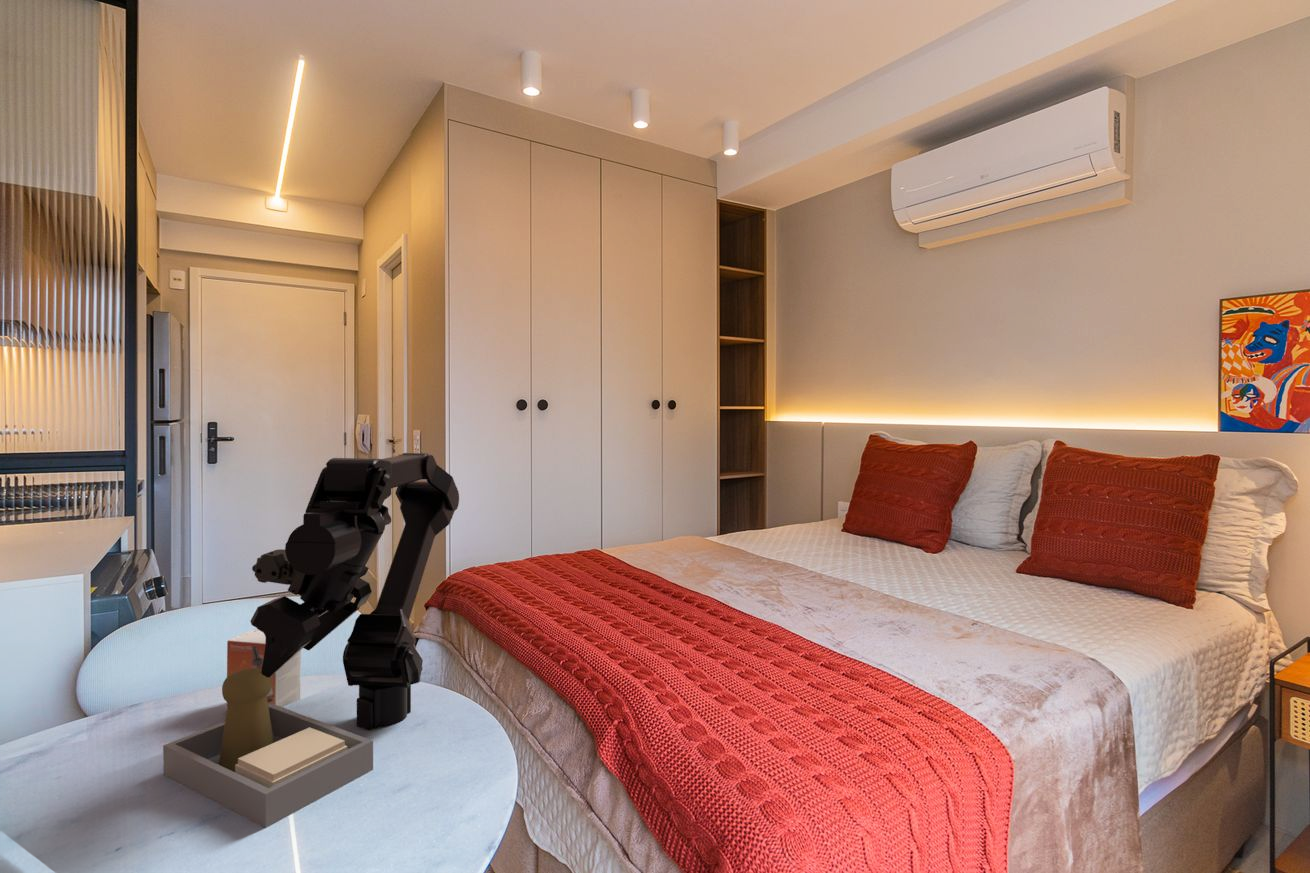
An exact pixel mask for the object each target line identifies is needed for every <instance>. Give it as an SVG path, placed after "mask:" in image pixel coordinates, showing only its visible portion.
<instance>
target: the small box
mask: <svg viewBox="0 0 1310 873" xmlns="http://www.w3.org/2000/svg"><path fill="white" fill-rule="evenodd" d="M265 642H266V637H265V635H264V633H263V632H261V631H260V630H258V629H257V628H255V629H254V628H253V629H252V630H248V631H247V632H245V633H242V634H239V635H238V636H235V637H233V638H230V639H228V640H227V642H226V644H227V646H226V648H227V650H226V652H227V653H226V678H227V677H228V676H229V675H231V674H232V673H234V672H236V671H239V670H243V669H249V668H261V669H262V664H263V658H264V651H265ZM301 652H302V649H301V650H300V651H299V652H298V653H297V654H296V655H294V656H293V657H292V658H291V659H290V660H289V661H288V662H287V663H286V664H284V665H283V666H282V667H281V668H280V669H279V670H278V671H277V672H275V673H274V674H273V675H272V676H271V679H272V686H271V690H270V692H269V693H268V694H267V701H268V705H270V704H275V705H277V706H280V707H283V708H284V707H285V706H288V705H291V704H293V703H296V702H298V701H300V700H301V684H302V683H301V674H302V673H301V671H302V670H301V669H302V667H301V666H302V665H301V664H302V661H301V660H302V653H301ZM227 704H228V703H227V702H226V705H227Z"/></svg>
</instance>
